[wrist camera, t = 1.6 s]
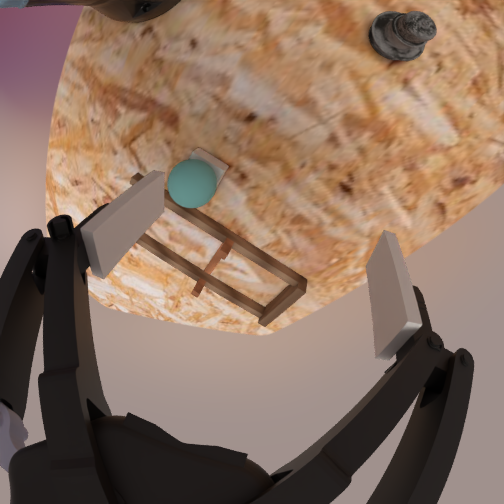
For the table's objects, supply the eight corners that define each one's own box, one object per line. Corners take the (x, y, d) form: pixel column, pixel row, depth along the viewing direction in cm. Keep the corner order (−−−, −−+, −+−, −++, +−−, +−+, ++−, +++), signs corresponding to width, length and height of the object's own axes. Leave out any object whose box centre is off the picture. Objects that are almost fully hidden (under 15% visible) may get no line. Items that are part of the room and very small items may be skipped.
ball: (174, 180, 35) (152, 200, 31) (191, 144, 32) (168, 159, 27) (211, 203, 36) (193, 226, 32) (231, 168, 33) (215, 187, 28)
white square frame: (184, 175, 36) (178, 180, 35) (198, 147, 34) (192, 151, 32) (213, 193, 37) (208, 199, 36) (229, 166, 34) (224, 171, 33)
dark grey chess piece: (415, 66, 21) (463, 64, 11) (368, 59, 22) (396, 48, 13) (411, 22, 17) (455, 1, 8) (363, 14, 19) (386, -17, 9)
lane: (122, 224, 45) (107, 239, 41) (138, 172, 38) (119, 185, 34) (268, 314, 49) (263, 334, 46) (307, 279, 42) (304, 301, 39)
